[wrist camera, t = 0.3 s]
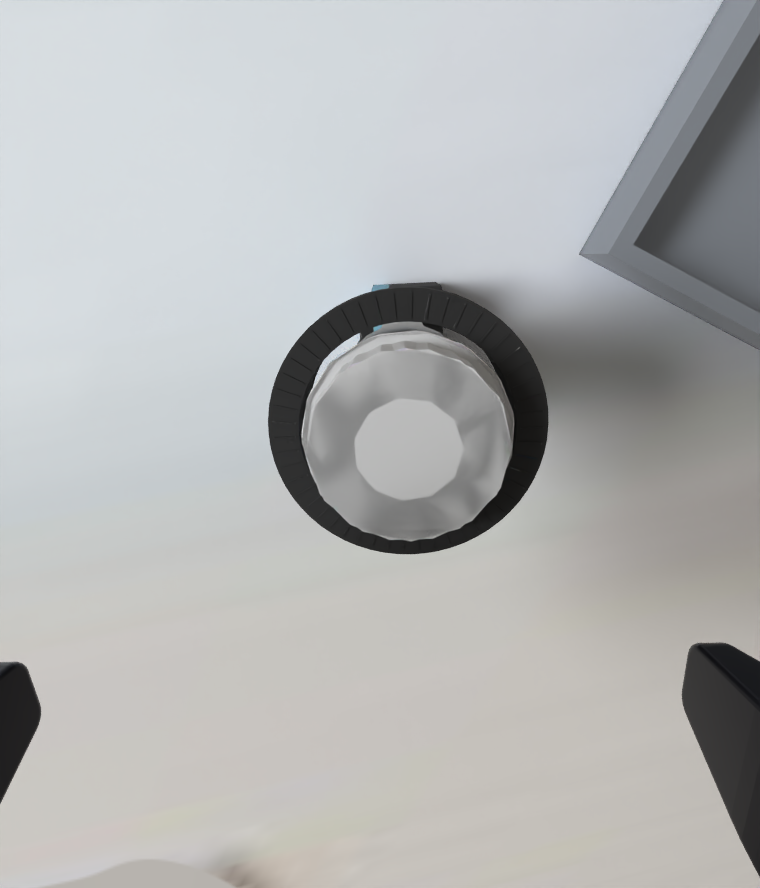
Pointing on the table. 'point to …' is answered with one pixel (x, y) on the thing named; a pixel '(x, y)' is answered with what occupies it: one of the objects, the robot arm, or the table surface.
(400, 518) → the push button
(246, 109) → the table surface
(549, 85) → the table surface
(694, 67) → the tray
